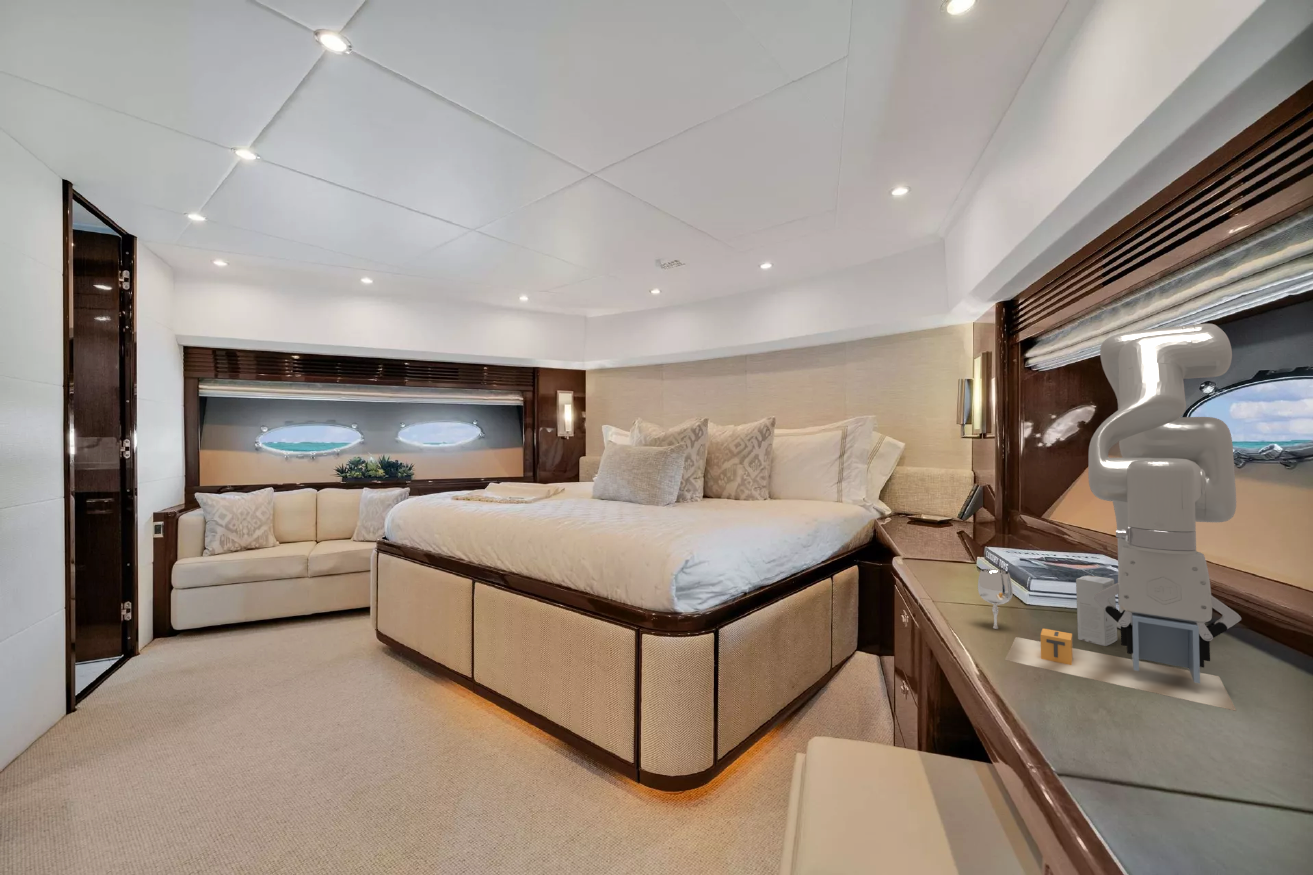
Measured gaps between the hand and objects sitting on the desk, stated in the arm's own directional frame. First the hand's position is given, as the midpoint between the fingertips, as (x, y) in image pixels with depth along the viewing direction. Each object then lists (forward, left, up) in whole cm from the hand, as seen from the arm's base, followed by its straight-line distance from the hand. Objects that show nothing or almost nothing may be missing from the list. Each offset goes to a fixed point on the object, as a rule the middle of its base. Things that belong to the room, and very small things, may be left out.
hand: (1163, 656), depth 80 cm
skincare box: (-17, -1, -5) cm, 18 cm away
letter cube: (-4, -12, -3) cm, 13 cm away
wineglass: (-18, -17, -5) cm, 26 cm away
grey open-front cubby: (0, 0, -2) cm, 2 cm away
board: (-2, -6, -4) cm, 8 cm away
